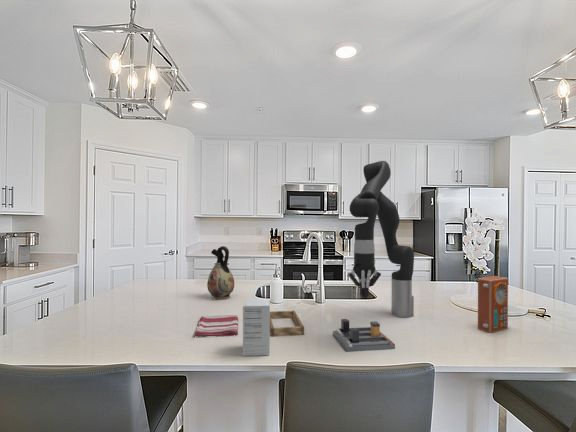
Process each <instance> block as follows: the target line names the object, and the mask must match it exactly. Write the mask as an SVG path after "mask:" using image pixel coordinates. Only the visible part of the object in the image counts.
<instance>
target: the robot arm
mask: <svg viewBox="0 0 576 432" xmlns="http://www.w3.org/2000/svg"><path fill="white" fill-rule="evenodd" d="M362 169H363V175H364V176H363V177H364V179H365V182H366V183H364V185H363V187H362V189H361V191H360V193H359V194H357V195H356V196H355V197H353V199H352V200H351V201H350V204H349V213H350V214H351V215H352V216H353V217H355V218H367V220H366V221H365V222H362V223H358V224H357V223H356V224H355V226H354V242H353V267H352V270H351V271H350V272H347V276H348V278H349V279H350V280H351V282H352V283H353V284H354V285H355V286H357V287H359V295H360V297H361V298H363V299H367V298H368V297H369V288H370V287H373V286H374V285H375V284H376V283H377V281H378V280H379V278H380V277H381V276H382V273H381V272H379V271H377V270H376V266H375V252H376V251H375V250H376V249H375V242H374V241H375V240H374V239H375V223H376V220H377V218H378V221H379V224H380V227H381V232H382V235H383V240H384V244H385V248H386V249H385V250H386V255H387V258H388V261H389V262H390V263H392V264H394V265H399V266H400V267H399V269H398V270H394V271H393V272H392V273H391V309H390V310H391V315H392V316H394V317H398V318H411V317H414V316H415V315H414V314H415V312H414V311H415V309H414V308H415V307H414V305H415V304H414V302H415V301H414V295H413V274H414V265H415V252H414V250H413V247H411V246H409V245H401V244H398V240H397V231H398V228H399V225H400V220H401V219H400V215H399V212H398V209H397V208H398V207H397V205H396V204H395V203H394V202H393V201H392V200H391V199H390V198H389V197H388V196H386V195H385V194H384V193H383V192H382V189H383V187H385V185H386V184H387V182H388V181H390V178H391V176H392V175H391V173H392V171H391V166H390V165H389V163H388V162H387V161H386V160H378V161H376V162H372V163H367V164H366V165H365V164H364V166H363V168H362ZM356 277H357V278H358V279H357V278H356Z"/></svg>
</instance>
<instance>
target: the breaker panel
mask: <svg viewBox="0 0 576 432" xmlns="http://www.w3.org/2000/svg"><path fill="white" fill-rule="evenodd" d="M332 335H333V337H336V338H335V339H336V341H337V342H338V343H339V342H340V343H339V344H340V345H341V346H343V347H342V348H343V349H344V351H345V352H359V351H360V352H363V351H374V350H375V351H378V350H379V351H380V350H392V349H393V350H395V349H396V343H394V342H393V341H392V340H391V339H390V338H389V337H387V335H385V334H383V333H382V332H381V331H380V335H378V336H371V326H364V327H363V326H362V327H360V326H359V327H350V320H349V319H348V318H341V320H340V328H339V327H337V328H336V327H335V330H333V331H332Z"/></svg>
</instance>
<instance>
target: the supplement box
mask: <svg viewBox="0 0 576 432" xmlns="http://www.w3.org/2000/svg"><path fill="white" fill-rule="evenodd" d="M270 305H271V304H270V299H268V298H267V299H264V298H263V299H244V301H243V306H242V356H243V357H246V356H247V357H249V356H250V357H251V356H257V357H258V356H270V353H271V352H270V344H271V343H270V341H271V339H270V338H271V337H270V335H271V333H270V312H271V309H270V308H271V307H270Z"/></svg>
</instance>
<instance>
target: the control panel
mask: <svg viewBox="0 0 576 432" xmlns="http://www.w3.org/2000/svg"><path fill="white" fill-rule="evenodd" d="M508 310H509V278H508V277H504V276H498V275H493V276H492V275H491V276H485V277H479V278H477V330H480V331H483V332H487V333H491V334H492V333H494V332H495V333H496V332H500V331H502V330H503V331H504V330H506V329H508V327H509V326H508V325H509V324H508V322H509V314H508V313H509V311H508Z"/></svg>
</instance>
